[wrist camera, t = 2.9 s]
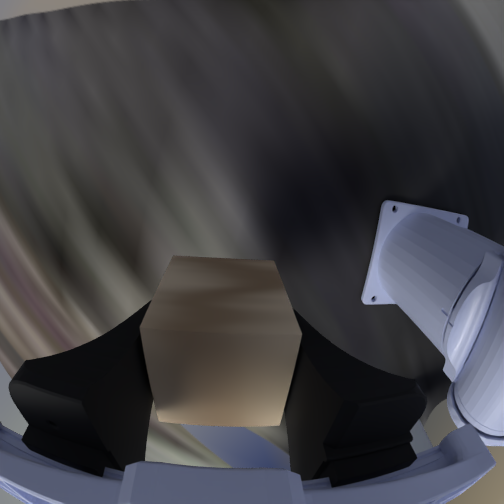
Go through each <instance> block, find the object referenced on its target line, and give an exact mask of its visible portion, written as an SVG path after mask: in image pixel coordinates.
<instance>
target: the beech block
mask: <svg viewBox="0 0 504 504" xmlns="http://www.w3.org/2000/svg"><path fill="white" fill-rule="evenodd" d="M140 332H141V339H142V345H143V350H144V356H145V361H146V367H147V372H148V377H149V381H150V386H151V390H152V395H153V399H154V403H155V407H156V411H157V415H158V419H159V421H161V422H169V423H179V424H191V425H206V426H235V427H236V426H237V427H250V426H279V425H280V421H281V418H282V414H283V411H284V407H285V403H286V399H287V396H288V392H289V388H290V384H291V380H292V376H293V372H294V368H295V364H296V359H297V355H298V351H299V346H300V342H301V337H302V332H301V330H300V327H299V325H298V322H297V319H296V317H295V314H294V311H293V309H292V306H291V304H290V301H289V298H288V296H287V293H286V291H285V288H284V285H283V283H282V280H281V278H280V275H279V273H278V270H277V267H276V265H275V262H274V261H269V260H248V259H228V258H209V257H190V256H173V257H172V259H171V261H170V263H169V265H168V267H167V269H166V271H165V273H164V275H163V278H162V280H161V282H160V284H159V286H158V288H157V290H156V292H155V294H154V297H153V299H152V301H151V303H150V305H149V307H148V310H147V312H146V314H145V316H144V319H143V321H142V323H141V325H140Z"/></svg>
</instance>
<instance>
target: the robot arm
mask: <svg viewBox="0 0 504 504" xmlns="http://www.w3.org/2000/svg"><path fill="white" fill-rule="evenodd" d="M393 206H395V210H394V211H392V208H393ZM457 218H458V220H457ZM468 222H469V219H468V217H467V216H466V215H462V214H458V213H453V212H448V211H444V210H439V209H434V208H429V207H424V206H418V205H413V204H408V203H402V202H396V201H390V200H386V201H384V202H383V203H382V206H381V211H380V217H379V222H378V228H377V233H376V238H375V242H374V247H373V252H372V256H371V261H370V265H369V269H368V273H367V277H366V281H365V285H364V289H363V293H362V297H361V300H362V302H363V303H364V304H397V305H398V306H399V307H400V308H401V309H402V310H403V311H404V312H405V313H406V314H407V315H408V316H409V317H410V318H411V320H412V321H413V322H414V323H415V324H416V325H417V326H418V327H419V328H420V329H421V330H422V332H423V333H424V334H425V335H426V336H427V337H428V338H429V339H430V341H431V342H432V343H433V344H434V345H435V346H436V347H437V348H438V350H439V351H440V352H441V353H442V354H443V355H444V357H445V358H446V362H445V365H444V368H443V371H444V372H445V374H446V375H447V376H448V377H449V379H450V380H451V381H452V383H451V385H450V387H449V390H448V394H447V405H448V410H449V413H450V415H451V418H452V420H453V421H454V423H455V424H456V426H457V427H458V429H456V430H454V431H452V432H450V433H449V434H448V435H447V436H446V437H445V438H444V439H443V440H442V441H441V443H440V444H439V445H438V446H436V447H433V448H431V449H428V450H425V451H423V452H420V453H418V454H415V452H414V450H413V448H412V446H411V444H410V442H412V440H413V436H412V434H411V432H410V431H411V429H412V428H413V427H414V425H415V424H416V423H417V421H418V420H419V418H420V417H421V416H422V414H423V412H424V410H425V408H426V404H427V399H426V396H425V395H424V393H423V392H422V390H421V388H420V387H419V385H418V384H417V383H416V381H415V380H412V379H408V378H405V377H401V376H397V375H394V374H391V373H388V372H385V371H382V370H380V369H377V368H375V367H373V366H370V365H368V364H366V363H364V362H362V361H360V360H358V359H356V358H354V357H353V356H351V355H349V354H347V353H346V352H344V351H343V350H341V349H340V348H338V347H337V346H335V345H334V344H332V343H331V342H330V341H329V340H327V339H326V338H325V337H324V336H322V335H321V334H320V333H319V332H318V331H316V330H315V329H314V328H313V327H312V326H311V325H310V324H309V323H308V322H307V321H306V320H305V319H304V318H303V317H302V316H301V315H300V314H299V313H298V312H297V311H295V310H294V309H293V308H292V309H293V311H294V314H295V317H296V319H297V322H298V325H299V327H300V330H301V332H302V337H301V342H300V346H299V351H298V355H297V359H296V364H295V368H294V372H293V376H292V380H291V384H290V388H289V392H288V396H287V399H286V403H285V407H284V411H285V418H286V426H287V434H288V444H289V455H290V467H291V471H289V470H286V469H277V468H214V467H198V466H187V465H178V464H170V463H163V462H149V461H145V452H146V442H147V434H148V427H149V420H150V414H151V408H152V403H153V395H152V390H151V386H150V381H149V377H148V372H147V367H146V361H145V356H144V350H143V345H142V339H141V332H140V325H141V323H142V321H143V319H144V316H145V314H146V312H147V310H148V307H149V305H150V303H151V301H152V300H151V301H149V302H148V303H147V304H146V305H144V306H143V307H142V308H141V309H139V310H138V311H137V312H136V313H134V314H133V315H132V316H130V317H129V318H128V319H126V320H125V321H124V322H122V323H121V324H119V325H118V326H116V327H115V328H113V329H112V330H110V331H109V332H107V333H105V334H104V335H102V336H100V337H98V338H96V339H94V340H92V341H90V342H88V343H86V344H83V345H81V346H79V347H76V348H74V349H71V350H68V351H65V352H62V353H59V354H55V355H52V356H47V357H42V358H37V359H32V360H26V361H25V362H24V363H23V365H22V366H21V367H20V369H19V370H18V372H17V373H16V374H15V376H14V377H13V379H12V380H11V382H10V383H9V391H10V395H11V397H12V399H13V401H14V403H15V404H16V406H17V408H18V409H19V411H20V412H21V414H22V415H23V417H24V418H25V420H26V421H27V422H28V424H29V425H28V427H27V429H26V431H25V433H24V435H23V436H22V435H20V434H18V433H16V432H14V431H12V430H10V429H8V428H6V427H4V426H3V425H2V423H1V422H0V488H2V489H3V490H4V491H6V492H8V493H9V494H11V495H12V496H14V497H15V498H17V499H19V500H20V501H22V502H24V503H25V504H445V503H446V502H448V501H450V500H452V499H454V498H455V497H457V496H459V495H460V494H461V493H463V492H464V491H465V490H467V489H468V488H469V487H470V486H472V485H473V484H474V483H476V482H477V481H478V480H479V479H480V478H481V477H483V476H484V475H485V474H486V473H487V472H488V471H490V470H491V469H492V468H493V467H494V466H495V465H496V462H495V460H494V458H493V457H492V455H491V453H490V452H489V450H488V449H487V447H486V445H487V446H504V246H502V245H500V244H498V243H496V242H494V241H492V240H490V239H488V238H486V237H484V236H482V235H480V234H478V233H475V232H473V231H471V230H469V229H467V227H468ZM373 296H375V297H374V299H372V297H373Z"/></svg>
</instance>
